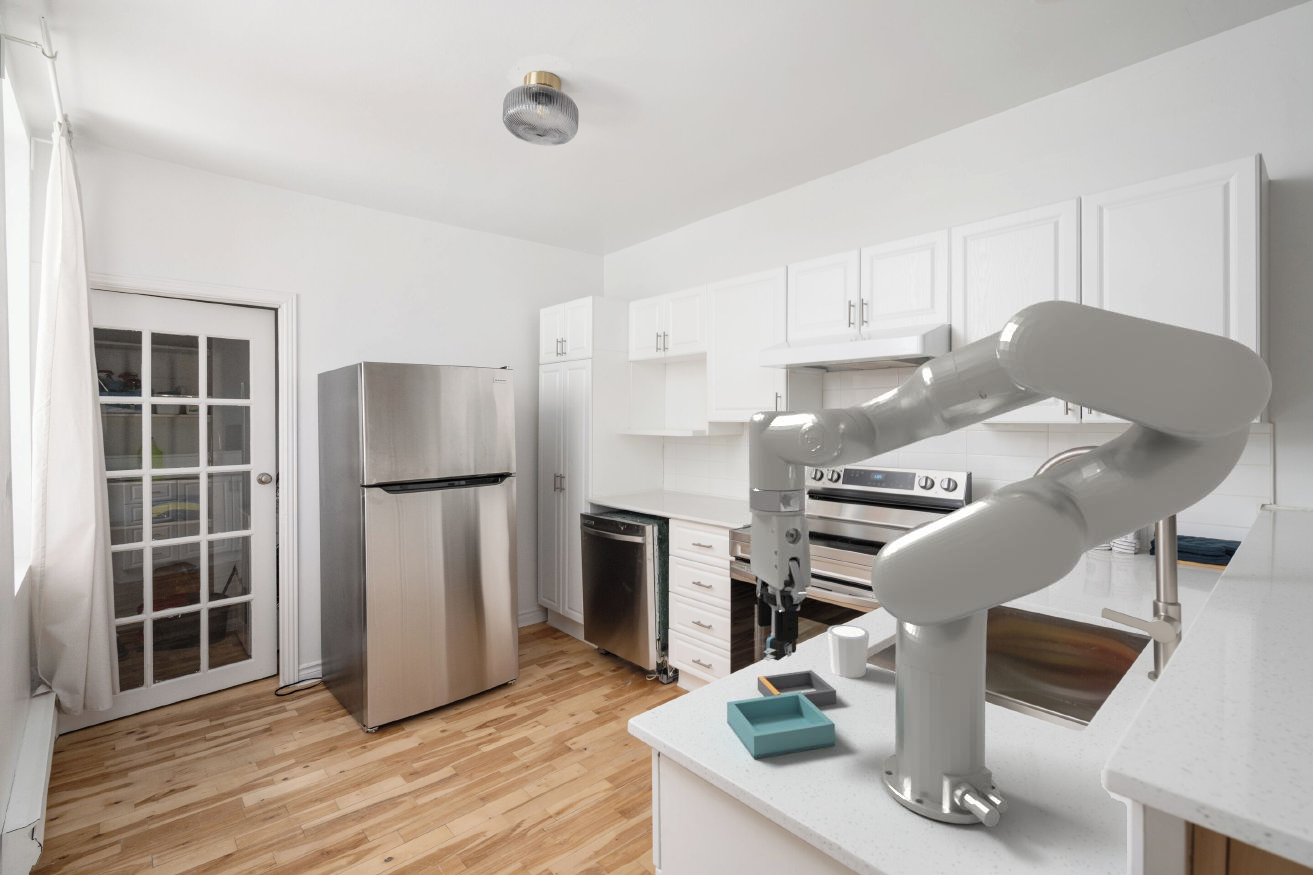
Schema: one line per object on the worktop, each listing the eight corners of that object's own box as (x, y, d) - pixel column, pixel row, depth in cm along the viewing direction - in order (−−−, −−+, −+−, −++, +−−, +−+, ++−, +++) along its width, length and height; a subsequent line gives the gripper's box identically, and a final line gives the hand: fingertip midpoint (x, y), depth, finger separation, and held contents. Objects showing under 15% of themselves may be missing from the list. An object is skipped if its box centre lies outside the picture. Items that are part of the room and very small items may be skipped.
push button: (783, 669, 79) (784, 594, 78) (748, 657, 82) (749, 586, 82) (806, 653, 84) (808, 583, 83) (773, 643, 87) (774, 575, 87)
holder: (836, 703, 92) (836, 688, 92) (778, 711, 90) (778, 696, 90) (811, 681, 100) (811, 668, 99) (757, 689, 97) (757, 675, 97)
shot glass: (839, 659, 109) (839, 621, 108) (876, 670, 104) (876, 630, 103) (819, 671, 104) (819, 631, 103) (857, 683, 99) (857, 641, 99)
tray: (834, 745, 80) (834, 723, 80) (754, 758, 78) (753, 736, 77) (800, 711, 90) (800, 691, 90) (727, 722, 87) (727, 702, 87)
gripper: (834, 509, 75) (834, 652, 76) (775, 492, 92) (775, 610, 92) (779, 512, 73) (779, 659, 74) (728, 494, 90) (729, 614, 90)
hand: (777, 630), depth 83 cm, fingers closed on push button, 4 cm apart
